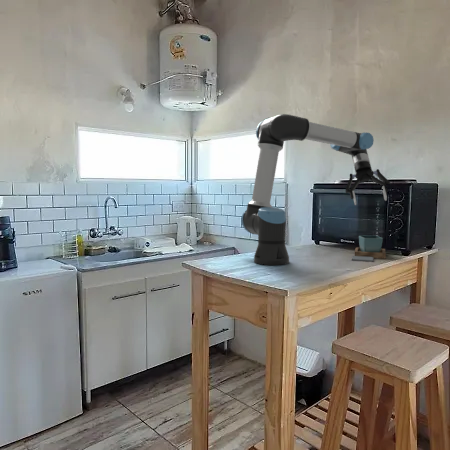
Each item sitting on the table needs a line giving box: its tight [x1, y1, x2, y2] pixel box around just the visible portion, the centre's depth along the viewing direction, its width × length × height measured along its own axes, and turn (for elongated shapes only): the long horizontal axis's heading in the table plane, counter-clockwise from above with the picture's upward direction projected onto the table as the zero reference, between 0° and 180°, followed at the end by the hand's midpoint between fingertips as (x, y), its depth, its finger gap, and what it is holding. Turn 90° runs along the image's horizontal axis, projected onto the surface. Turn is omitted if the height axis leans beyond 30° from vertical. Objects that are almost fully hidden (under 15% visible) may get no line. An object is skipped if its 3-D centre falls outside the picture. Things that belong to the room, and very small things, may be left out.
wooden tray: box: [354, 247, 387, 260], centre depth 192 cm, size 13×13×2 cm
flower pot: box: [358, 235, 384, 253], centre depth 192 cm, size 9×9×9 cm
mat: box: [351, 255, 374, 263], centre depth 183 cm, size 9×9×1 cm
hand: (370, 201), depth 190 cm, fingers open, 13 cm apart
